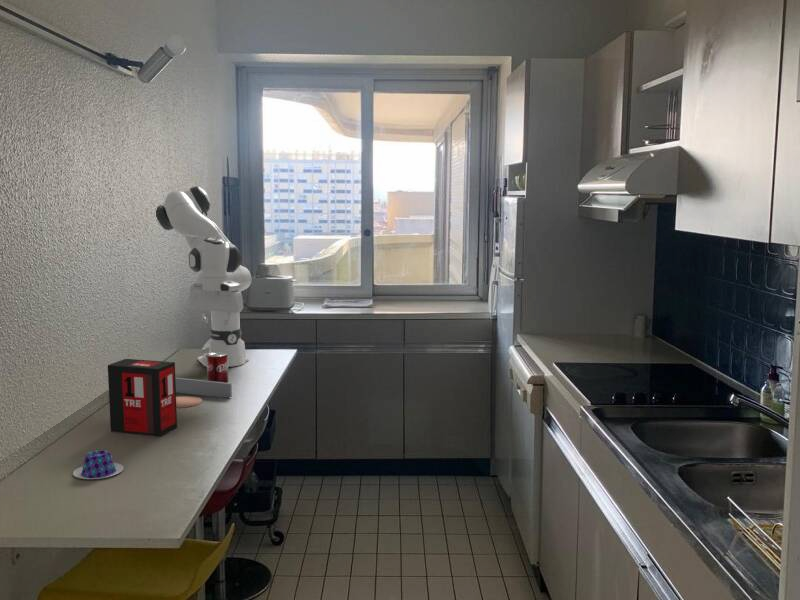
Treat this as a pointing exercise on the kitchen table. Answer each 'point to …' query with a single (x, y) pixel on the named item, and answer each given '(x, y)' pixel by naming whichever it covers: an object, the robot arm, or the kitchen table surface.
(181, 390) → the acrylic wall
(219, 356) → the soda can
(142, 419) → the cleaning product box
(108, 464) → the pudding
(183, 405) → the terracotta mat
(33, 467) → the kitchen table surface
